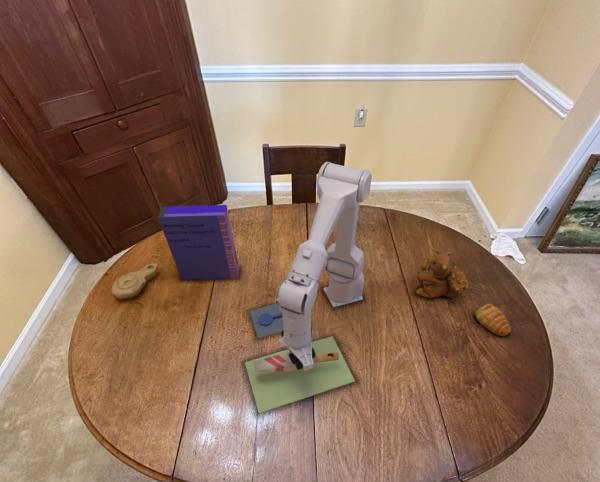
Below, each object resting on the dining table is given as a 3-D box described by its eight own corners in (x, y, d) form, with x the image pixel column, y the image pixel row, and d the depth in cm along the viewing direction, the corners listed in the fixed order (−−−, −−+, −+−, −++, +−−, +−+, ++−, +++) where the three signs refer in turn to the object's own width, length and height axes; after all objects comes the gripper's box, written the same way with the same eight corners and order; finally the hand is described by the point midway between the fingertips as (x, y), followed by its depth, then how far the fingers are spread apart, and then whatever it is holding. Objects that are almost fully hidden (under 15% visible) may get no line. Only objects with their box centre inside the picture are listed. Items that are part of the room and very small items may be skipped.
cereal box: (239, 268, 112) (226, 204, 95) (237, 278, 109) (224, 214, 91) (184, 269, 112) (162, 205, 94) (181, 280, 109) (157, 216, 91)
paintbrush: (253, 355, 81) (337, 346, 84) (254, 362, 83) (335, 353, 86) (254, 369, 79) (340, 360, 81) (255, 376, 80) (339, 366, 83)
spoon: (302, 304, 101) (302, 302, 100) (307, 314, 98) (307, 312, 97) (257, 317, 98) (256, 314, 97) (260, 327, 95) (260, 325, 95)
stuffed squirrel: (419, 272, 110) (430, 239, 100) (466, 288, 105) (482, 255, 95) (409, 292, 104) (420, 259, 94) (458, 310, 99) (474, 278, 89)
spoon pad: (295, 299, 103) (295, 298, 103) (307, 324, 96) (307, 323, 96) (249, 311, 100) (249, 310, 100) (258, 338, 93) (258, 338, 93)
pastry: (515, 331, 94) (521, 323, 91) (496, 341, 92) (502, 332, 89) (488, 307, 100) (493, 298, 97) (470, 315, 98) (474, 307, 95)
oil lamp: (163, 271, 111) (158, 260, 108) (145, 306, 102) (138, 294, 98) (131, 269, 112) (125, 258, 109) (110, 303, 103) (103, 291, 99)
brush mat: (332, 336, 94) (332, 335, 93) (354, 381, 84) (355, 380, 84) (244, 363, 88) (244, 362, 88) (258, 414, 79) (258, 413, 79)
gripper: (269, 304, 76) (273, 340, 86) (289, 359, 67) (291, 392, 77) (299, 296, 78) (300, 332, 88) (323, 348, 68) (321, 382, 78)
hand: (298, 359), depth 82 cm, fingers closed on paintbrush, 4 cm apart
